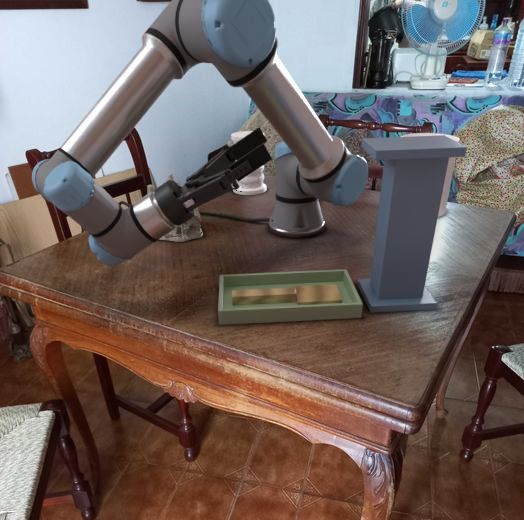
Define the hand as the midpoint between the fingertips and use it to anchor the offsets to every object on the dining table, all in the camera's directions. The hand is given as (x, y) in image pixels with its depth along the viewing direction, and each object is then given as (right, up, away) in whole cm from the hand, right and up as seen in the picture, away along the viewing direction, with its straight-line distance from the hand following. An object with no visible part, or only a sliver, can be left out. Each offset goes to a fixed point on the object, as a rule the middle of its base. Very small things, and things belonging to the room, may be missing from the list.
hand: (265, 141), depth 79 cm
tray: (+4, -25, +18) cm, 31 cm away
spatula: (+4, -25, +18) cm, 31 cm away
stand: (+25, -24, +18) cm, 40 cm away
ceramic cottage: (-26, -3, +52) cm, 58 cm away
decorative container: (-5, +20, +84) cm, 87 cm away
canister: (+46, +7, +63) cm, 78 cm away
